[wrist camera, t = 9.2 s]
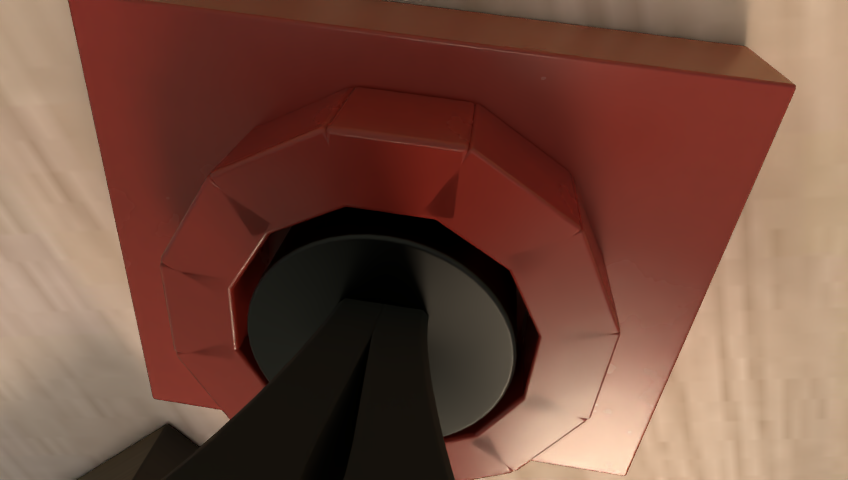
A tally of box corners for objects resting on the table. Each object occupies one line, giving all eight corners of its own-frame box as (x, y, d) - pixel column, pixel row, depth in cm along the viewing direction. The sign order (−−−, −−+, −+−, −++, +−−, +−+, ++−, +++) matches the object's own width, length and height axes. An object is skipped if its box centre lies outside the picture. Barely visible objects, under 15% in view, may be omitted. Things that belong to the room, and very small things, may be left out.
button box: (193, 336, 16) (109, 464, 13) (138, -31, 11) (-24, 16, 8) (612, 403, 15) (640, 554, 12) (748, 45, 10) (860, 133, 7)
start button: (284, 356, 12) (253, 422, 11) (275, 164, 10) (235, 215, 9) (495, 389, 12) (493, 461, 11) (538, 200, 10) (543, 260, 8)
